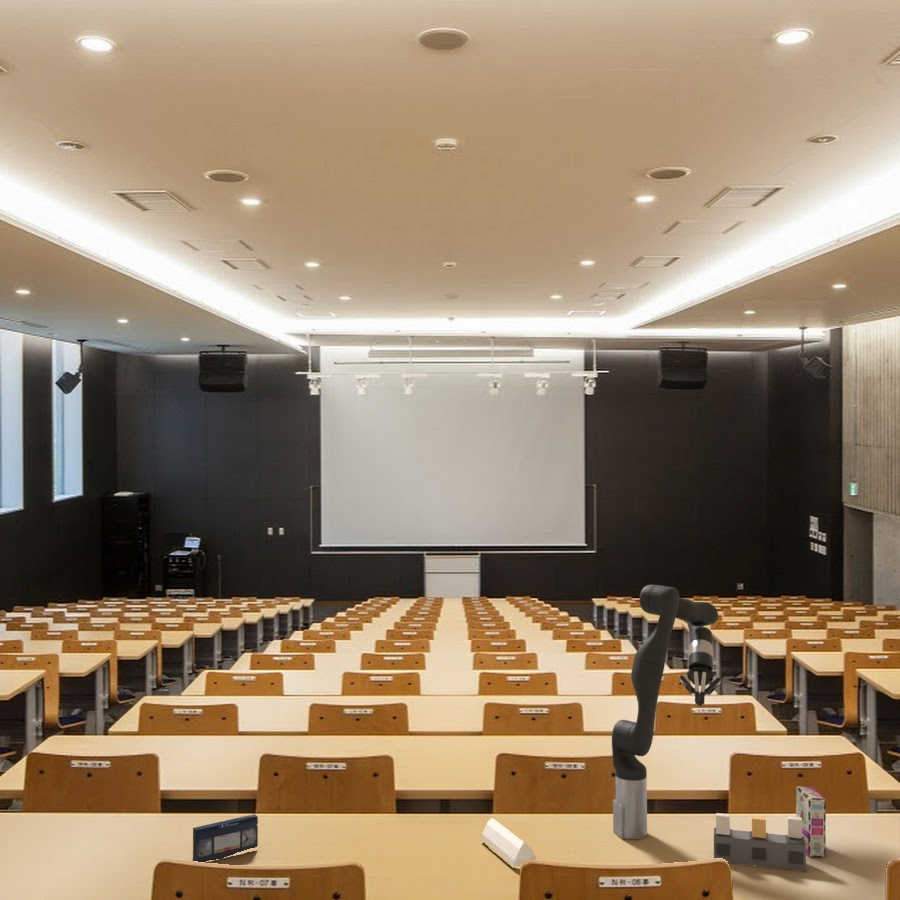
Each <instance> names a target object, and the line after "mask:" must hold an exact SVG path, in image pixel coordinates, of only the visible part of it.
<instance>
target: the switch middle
mask: <svg viewBox="0 0 900 900" xmlns="http://www.w3.org/2000/svg"><path fill="white" fill-rule="evenodd" d="M751 831H752V837H758V838H766V833H767V820H766V817H763V816H755V815H752V816H751Z"/></svg>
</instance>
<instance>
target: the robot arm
mask: <svg viewBox="0 0 900 900" xmlns="http://www.w3.org/2000/svg"><path fill="white" fill-rule="evenodd" d="M639 606H640V608H641V609H642V611H643V612H645V613H646V614H648V615H653V616H659V617H658V622H657V624H656V626H655V628H654V630H653V632H652V633H651V634H650V635H649V637H648V638H646V639H645V640H644V642H643V643H642V644H641V645H640V647H639V648H638V649H637V651H636V653H635V654H634V658H633V661H632V662H633V663H632V668H631V673H630V675H631V677H630V678H631V683H632V686H633V689H634V693H635V697H636V699H637V717H636V721H631V720H627V719H620V720H618V721H617V722H616V723H615V724H614V726H613V729H612V732H611V749H612V751H611V752H612V753H611V754H612V766H613V767H614V771H615V775H614V776H615V778H614V779H615V798H614V799H612V829H613V830H612V832H613V833H615V835H617V836H618V837H619V838H620V839H626V838H627V840H640V839H644V838H646V837H647V836H648V802H647V801H648V798H647V797H648V793H647V792H648V789H647V788H648V787H647V786H648V785H647V784H648V783H647V779H648V778H647V777H648V776H647V774H648V773H647V772H648V771H647V767H646V765H644V764H643V763H642V762H641V761H640V760H639V759H638V758H637V757H644V756H646V755H647V754H648V753H649V751H650V749H651V748H652V744H653V739H654V731H655V724H656V723H655V721H656V713H657V705H658V701H659V694H660V690H661V689H660V688H661V684H662V681H663V675H664V671H665V664H666V659H667V654H668V650H669V649H668V648H669V643H670V638H671V634H672V631H673V628H674V625H675V622H676V619H678V620H679V621H684V622H685V623H687V626H688V627H687V628H688V632H689V648H688V661H687V662H688V667H687V668H688V669H687V671H686V674H683V675H680V676H679V681H680V683H681V684H682V685H683V687H684V688H685V689H686V690H687V692H688V693H689V694H693V695H694V704H695V705H697V707H702V706H703V705H705V697H706V695H708V696H710V695H712V693H713V692H715V690H716V689H717V688H718V687H719V686H720V685H721V678H720V677H717V676H715V673H714V671H713V669H714V667H713V666H714V665H713V664H714V662H713V660H714V652H713V633H712V631H711V630H710V629H709V627H707V626H711V625H714V624H715V623H716V622H717V621H718V619H719V611H718V610H717V608H716V606H714V605H713V604H712V603H710V602H706V601H704V602H703V601H694V600H691V599H688V598H684V597H680V593H679V591H678V589H677V588H676V587H673V586H666V585H659V584H647V585H645V586H644V587H643V588H642V589H641V591H640V594H639ZM689 681H690V682H691V683H690V682H689ZM693 685H694V686H693ZM699 687H700V688H699ZM636 756H637V757H636Z"/></svg>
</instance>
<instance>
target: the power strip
mask: <svg viewBox="0 0 900 900" xmlns="http://www.w3.org/2000/svg"><path fill="white" fill-rule="evenodd" d="M806 856H807V854H806V844H805V839H804V837H802V838H792V837H788V834H785V835H784V834H777V833H776V834H775V833H768V832H766V838H758V837H752V830H750V831H747V830H746V831H745V830H740V829H739V830H737V829H733V828H730V835H724V834H716V827H714V828H713V859H714V858H723V859H725V860H726V861H728V862H729V863H728V864H734V865H735V864H736V865H743V864H745V865H744V866H752V865H756V866H755V867H760V866H763V867H762V868H769V867H771V869H778V868H779V869H780V868H782V869H781V870H787V869H790V870H789V871H796V870H798V872H807V857H806Z"/></svg>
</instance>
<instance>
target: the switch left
mask: <svg viewBox="0 0 900 900" xmlns="http://www.w3.org/2000/svg"><path fill="white" fill-rule="evenodd" d="M730 816H731V814H728V813H719V812H716V813H715V818H716V819H715V823H716V824H715V826H716V827H715V828H716V834H724V835H730V829H731V823H730V822H731V820H730V819H731V817H730Z"/></svg>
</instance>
